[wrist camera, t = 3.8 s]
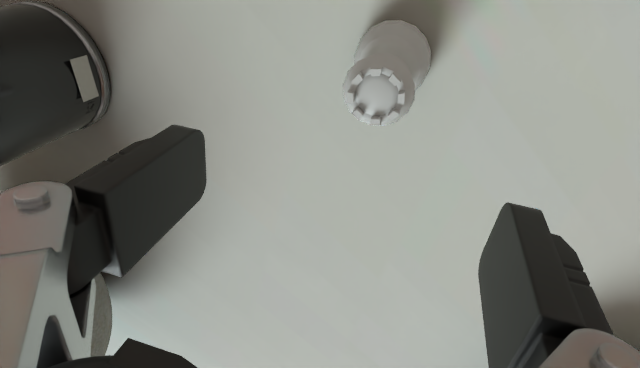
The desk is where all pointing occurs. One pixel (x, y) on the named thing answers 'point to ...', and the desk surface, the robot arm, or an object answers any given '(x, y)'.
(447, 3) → the desk surface
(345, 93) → the rook chess piece
